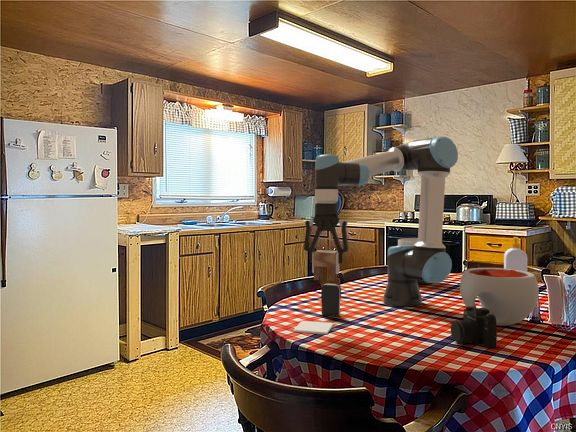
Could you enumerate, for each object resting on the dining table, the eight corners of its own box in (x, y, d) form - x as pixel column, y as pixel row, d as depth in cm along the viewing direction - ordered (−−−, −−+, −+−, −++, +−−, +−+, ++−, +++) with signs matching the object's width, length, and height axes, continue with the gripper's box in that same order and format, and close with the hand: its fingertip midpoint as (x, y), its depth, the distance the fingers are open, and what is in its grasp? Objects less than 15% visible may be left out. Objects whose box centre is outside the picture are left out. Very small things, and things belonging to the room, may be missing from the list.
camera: (442, 335, 141) (442, 303, 140) (475, 334, 142) (475, 302, 141) (464, 350, 127) (464, 314, 126) (500, 348, 128) (501, 313, 128)
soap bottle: (524, 284, 219) (524, 236, 218) (527, 287, 212) (527, 238, 211) (503, 283, 221) (503, 236, 220) (505, 286, 215) (506, 237, 214)
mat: (333, 324, 153) (333, 323, 153) (327, 334, 143) (327, 332, 143) (301, 322, 156) (301, 320, 156) (293, 331, 146) (293, 329, 146)
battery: (342, 314, 166) (342, 283, 166) (339, 317, 163) (339, 285, 162) (324, 312, 169) (324, 282, 169) (320, 315, 166) (320, 283, 165)
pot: (555, 331, 143) (555, 274, 143) (481, 333, 142) (481, 276, 141) (511, 312, 167) (512, 263, 167) (448, 314, 165) (448, 265, 165)
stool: (338, 277, 152) (338, 250, 152) (334, 281, 146) (334, 253, 145) (317, 276, 154) (317, 250, 154) (313, 280, 148) (313, 252, 147)
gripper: (358, 202, 150) (357, 272, 151) (299, 202, 156) (299, 269, 156) (355, 202, 143) (354, 276, 144) (293, 202, 148) (293, 273, 149)
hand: (325, 272), depth 150 cm, fingers closed on stool, 7 cm apart
